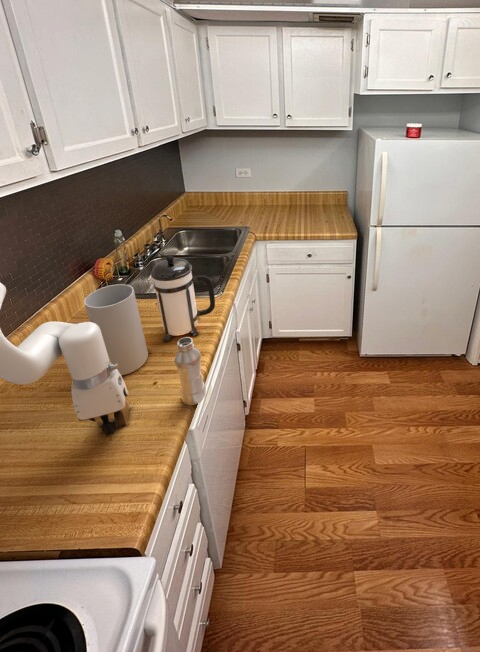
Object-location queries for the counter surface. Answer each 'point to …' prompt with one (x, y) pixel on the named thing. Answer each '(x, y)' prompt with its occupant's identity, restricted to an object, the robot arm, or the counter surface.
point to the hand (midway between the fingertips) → (111, 430)
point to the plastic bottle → (190, 372)
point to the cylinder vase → (119, 325)
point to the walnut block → (122, 418)
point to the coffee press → (178, 296)
